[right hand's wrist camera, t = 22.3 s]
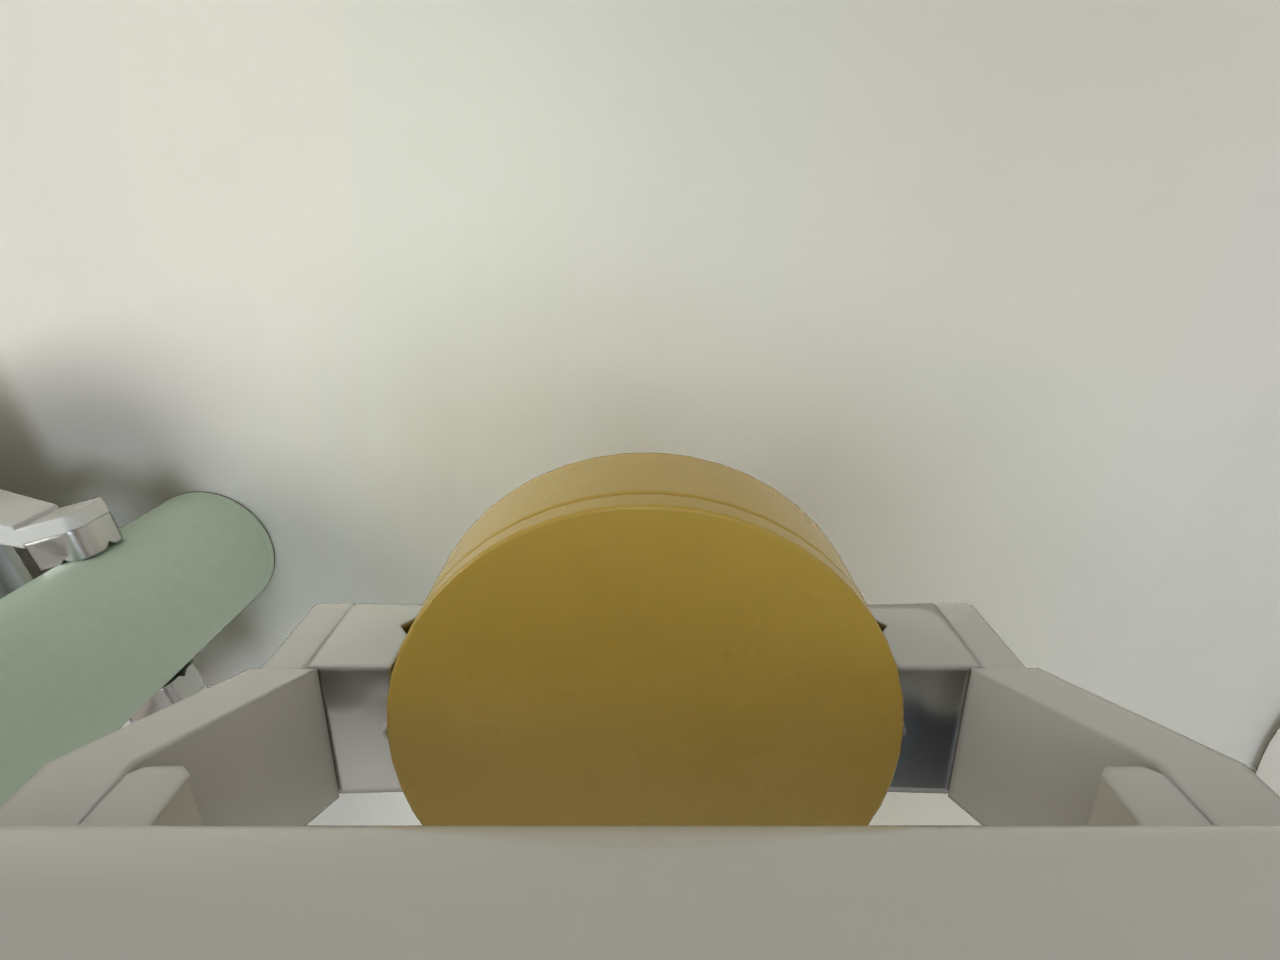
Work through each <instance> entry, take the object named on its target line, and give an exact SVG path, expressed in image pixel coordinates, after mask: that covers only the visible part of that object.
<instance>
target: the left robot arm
mask: <svg viewBox="0 0 1280 960" xmlns="http://www.w3.org/2000/svg"><path fill="white" fill-rule="evenodd" d="M123 538H124V537H123V535H122V533H121V531H120V529H119V527H118V525H117V524H116V522H115V520H114V518H113V516H112V514H111V512H110V511H109V509H108V508H107V506H106V504H105V502H104V500H103V498H102V497H98V498H94V499H90V500H87V501H83V502H79V503H76V504H72V505H68V506H64V507H61V508H59V507H58V505H57V504H53V503H50V502H46V501H42V500H39V499H35V498H31V497H28V496H24V495H20V494H17V493H13V492H9V491H6V490H2V489H0V599H1V598H3V597H5V596H6V595H8V594H10V593H11V592H13V591H15V590H16V589H18V588H20V587H22V586H23V585H25V584H27V583H28V582H30V581H32V580H33V578H32V576H31V575H30V573H29V571H28V570H27V568H26V567H25V565H24V563H23V562H22V560H21V558H20V557H19V555H18V554H17V552H16V550H15V549H14V547H18V548H23V549H27V550H28V552H29V553H30V555H31V556H32V558H33V559H34V561H35V562H36V564H37V565H38V567H39V569H40V570H41V571H43V570H47V569H51V568H55V567H57V566H59V565H62V564H63V563H65V562H67V561H69V562H76V561H81V560H84V559H87V558H90V557H92V556H94V555H96V554H98V553H100V552H102V551H104V550H105V549H107V546H108V545H110V544H114V543H117V542H118V541H120V540H122V539H123ZM207 688H208V687H207V686H206V684H205V682H204V680H203V679H202V677H201V675H200V673H199V672H198V670H197V668H196V667H195V665H194V663H193V662H192V660H190V661H189V662H188V663H187V664H186V665H185V666H184V667H183V668H182V669H181V670H180V671H179V672H178V673H177V674H176V675H175V676H174V677H173V678H172V679H170V680H169V681H168V682H167V683H166V684H165V685H164V686H163V687H162V688H161V689H160V690H159V691H158V692H157V693H156V694H155V695H154V696H153V697H152V698H151V699H150V700H149V701H148V702H147V703H146V704H145V705H144V706H143V707H141V708H140V709H139V710H138V711H137V712H136V713H135V714H134V715H133V716H132V717H131V718H130V719H129V720H128V721H127V722H126V723H125V724H124V725H123V726H122V727H121V728H123V727H126V726H128V725H130V724H132V723H134V722H136V721H138V720H141V719H143V718H145V717H147V716H149V715H151V714H153V713H156V712H158V711H160V710H162V709H164V708H166V707H168V706H171V705H173V704H175V703H177V702H179V701H181V700H183V699H185V698H188V697H190V696H192V695H194V694H196V693H198V692H200V691H203V690H205V689H207ZM121 728H120V729H121Z"/></svg>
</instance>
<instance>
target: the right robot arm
mask: <svg viewBox="0 0 1280 960" xmlns="http://www.w3.org/2000/svg"><path fill="white" fill-rule="evenodd" d="M422 606H423V605H413V604H360V603H359V604H356V603H323V604H317V605H315V606H314V607H313V608H312V609H311V610H310V611H309V612H308V614H307V615H306V616H305V617H304V618H303V620H302V621H301V622H300V623H299V624H298V626H297V627H296V628H295V629H294V630H293V632H292V633H291V634H290V635H289V636H288V638H287V639H286V640H285V641H284V642H283V644H282V645H281V646H280V647H279V648H278V650H277V651H276V652H275V653H274V654H273V656H272V657H271V658H270V659H269V660H268V662H267V663H266V664H265V665H264V666H263V668H250V669H247V670H245V671H243V672H241V673H239V674H237V675H235V676H232V677H230V678H228V679H226V680H224V681H222V682H220V683H218V684H215V685H213V686H211V687H209V688H207V689H205V690H203V691H200V692H198V693H196V694H194V695H192V696H190V697H188V698H185V699H183V700H181V701H179V702H177V703H175V704H173V705H171V706H168V707H166V708H164V709H162V710H160V711H158V712H156V713H153V714H151V715H149V716H147V717H145V718H143V719H141V720H138V721H136V722H134V723H132V724H130V725H128V726H126V727H123V728H121V729H119V730H117V731H115V732H113V733H111V734H109V735H106V736H104V737H102V738H100V739H98V740H96V741H94V742H91V743H89V744H87V745H85V746H83V747H81V748H79V749H76V750H74V751H72V752H70V753H68V754H66V755H64V756H62V757H59V758H57V759H55V760H53V761H51V762H49V763H47V764H46V765H45V766H44V767H42V768H41V769H40V770H39V771H38V772H37V773H36V774H35V775H34V776H33V777H32V778H31V779H30V780H28V781H27V782H26V783H25V784H24V785H23V786H22V787H21V788H20V789H19V790H18V791H17V792H16V793H14V794H13V795H12V796H11V797H10V798H9V799H8V800H7V801H6V802H5V803H4V804H3V805H2V806H0V960H1280V727H1279V729H1278V730H1277V732H1276V733H1275V735H1274V736H1273V738H1272V740H1271V741H1270V743H1269V745H1268V746H1267V748H1266V750H1265V752H1264V754H1263V757H1262V759H1261V761H1260V764H1259V766H1258V769H1257V771H1256V773H1254V772H1253V771H1252V770H1251V769H1249V768H1248V767H1247V766H1246V765H1245V764H1243V763H1241V762H1239V761H1237V760H1234V759H1232V758H1230V757H1228V756H1226V755H1224V754H1222V753H1219V752H1217V751H1215V750H1213V749H1211V748H1209V747H1207V746H1204V745H1202V744H1200V743H1198V742H1196V741H1194V740H1191V739H1189V738H1187V737H1185V736H1183V735H1181V734H1179V733H1176V732H1174V731H1172V730H1170V729H1168V728H1166V727H1163V726H1161V725H1159V724H1157V723H1155V722H1153V721H1151V720H1148V719H1146V718H1144V717H1142V716H1140V715H1138V714H1136V713H1133V712H1131V711H1129V710H1127V709H1125V708H1123V707H1120V706H1118V705H1116V704H1114V703H1112V702H1110V701H1108V700H1105V699H1103V698H1101V697H1099V696H1097V695H1095V694H1092V693H1090V692H1088V691H1086V690H1084V689H1082V688H1080V687H1077V686H1075V685H1073V684H1071V683H1069V682H1067V681H1065V680H1062V679H1060V678H1058V677H1056V676H1054V675H1052V674H1049V673H1047V672H1045V671H1043V670H1041V669H1039V668H1026V667H1025V666H1024V665H1023V664H1022V663H1021V662H1020V660H1019V659H1018V658H1017V657H1016V656H1015V655H1014V653H1013V652H1012V651H1011V650H1010V649H1009V647H1008V646H1007V645H1006V644H1005V643H1004V642H1003V640H1002V639H1001V638H1000V637H999V636H998V635H997V633H996V632H995V631H994V630H993V629H992V628H991V626H990V625H989V624H988V623H987V622H986V621H985V619H984V618H983V617H982V616H981V615H980V614H979V612H978V611H977V610H976V609H975V608H974V607H973V606H972V605H970V604H967V603H943V604H933V603H932V604H891V605H868V607H869V609H870V611H871V612H872V614H873V616H874V618H875V619H876V621H877V623H878V625H879V627H880V628H881V630H882V632H883V634H884V636H885V637H886V639H887V641H888V644H889V646H890V649H891V652H892V655H893V657H894V660H895V663H896V666H897V668H898V673H899V678H900V684H901V689H902V694H903V713H904V728H903V735H902V743H901V750H900V756H899V759H898V763H897V766H896V769H895V773H894V776H893V780H892V782H891V784H890V786H889V789H888V791H887V792H915V793H949V794H948V797H949V798H951V799H952V800H953V801H954V802H955V803H957V804H958V805H959V806H960V807H961V808H962V809H964V810H965V811H966V812H967V813H968V814H969V815H971V816H972V817H973V818H974V819H975V820H977V821H978V822H979V823H980V824H981V825H982V826H306V825H307V824H308V823H309V822H311V821H312V820H313V819H314V818H315V817H316V816H318V815H319V814H320V813H321V812H322V811H323V810H325V809H326V808H327V807H328V806H329V805H330V804H332V803H333V802H334V801H335V800H336V799H337V798H339V793H371V792H403V791H402V789H401V787H400V784H399V781H398V778H397V775H396V772H395V769H394V766H393V763H392V759H391V753H390V747H389V741H388V735H387V699H388V693H389V686H390V680H391V674H392V671H393V668H394V665H395V662H396V659H397V656H398V653H399V650H400V647H401V645H402V643H403V641H404V639H405V637H406V635H407V633H408V632H409V630H410V628H411V626H412V624H413V622H414V620H415V618H416V616H417V614H418V613H419V611H420V609H421V607H422Z"/></svg>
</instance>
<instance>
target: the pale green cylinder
mask: <svg viewBox="0 0 1280 960" xmlns="http://www.w3.org/2000/svg"><path fill="white" fill-rule="evenodd" d="M120 531H121V533H122V535H123V537H124V538H123V539H122V540H120V541H118V542H117V543H114V544H110V545H108V546H107V549H105V550H104V551H102V552H100V553H98V554H96V555H94V556H92V557H90V558H87V559H84V560H81V561H76V562H69V561H67V562H65V563H63V564H62V565H59V566H57V567H55V568H52V569H50V570H49V571H47V572H45V573H44V574H42V575H40V576H39V577H37V578H35V579H33V580H32V581H30V582H28V583H27V584H25V585H23V586H22V587H20V588H18V589H16V590H15V591H13V592H11V593H10V594H8V595H6V596H5V597H3V598H1V599H0V806H2V805H3V804H4V803H5V802H6V801H7V800H8V799H9V798H10V797H11V796H12V795H13V794H14V793H16V792H17V791H18V790H19V789H20V788H21V787H22V786H23V785H24V784H25V783H26V782H27V781H28V780H30V779H31V778H32V777H33V776H34V775H35V774H36V773H37V772H38V771H39V770H40V769H41V768H42V767H44V766H45V765H46V764H47V763H49V762H51V761H53V760H55V759H57V758H59V757H62V756H64V755H66V754H68V753H70V752H72V751H74V750H76V749H79V748H81V747H83V746H85V745H87V744H89V743H91V742H94V741H96V740H98V739H100V738H102V737H104V736H106V735H109V734H111V733H113V732H115V731H117V730H119V729H120V728H121V727H122V726H123V725H124V724H125V723H126V722H127V721H128V720H129V719H130V718H131V717H132V716H133V715H134V714H135V713H136V712H137V711H138V710H139V709H140V708H141V707H143V706H144V705H145V704H146V703H147V702H148V701H149V700H150V699H151V698H152V697H153V696H154V695H155V694H156V693H157V692H158V691H159V690H160V689H161V688H162V687H163V686H164V685H165V684H166V683H167V682H168V681H169V680H170V679H172V678H173V677H174V676H175V675H176V674H177V673H178V672H179V671H180V670H181V669H182V668H183V667H184V666H185V665H186V664H187V663H188V662H189V661H190V660H191V659H192V658H193V657H194V656H195V655H196V654H197V653H198V652H200V651H201V650H202V649H203V648H204V647H205V646H206V645H207V644H208V643H209V642H210V641H211V640H212V639H213V638H214V637H215V636H216V635H217V634H218V633H219V632H220V631H221V630H222V629H223V628H224V627H225V626H226V625H228V624H229V623H230V622H231V621H232V620H233V619H234V618H235V617H236V616H237V615H238V614H239V613H240V612H241V611H242V610H243V609H244V608H245V607H246V606H247V605H248V604H249V603H250V602H251V601H252V600H253V599H254V598H255V597H257V596H258V595H259V594H260V593H261V592H262V591H263V589H264V588H265V587H266V586H267V584H268V582H269V581H270V578H271V576H272V573H273V568H274V552H273V547H272V544H271V541H270V538H269V536H268V534H267V532H266V530H265V529H264V527H263V526H262V525H261V523H260V522H259V521H258V520H257V518H256V517H255V516H254V515H253V514H251V513H250V512H249V511H248V510H247V509H245V508H244V507H243V506H241V505H240V504H238V503H236V502H235V501H233V500H230V499H228V498H226V497H223V496H220V495H217V494H212V493H204V492H191V493H185V494H181V495H178V496H175V497H173V498H171V499H169V500H167V501H166V502H164V503H162V504H161V505H159V506H157V507H156V508H154V509H152V510H150V511H149V512H147V513H145V514H144V515H142V516H140V517H139V518H137V519H135V520H133V521H132V522H130V523H128V524H127V525H125V526H123V527H122V528H120Z"/></svg>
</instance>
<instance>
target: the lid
mask: <svg viewBox="0 0 1280 960" xmlns="http://www.w3.org/2000/svg"><path fill="white" fill-rule="evenodd" d="M903 728H904V713H903V694H902V689H901V684H900V678H899V673H898V668H897V666H896V663H895V660H894V657H893V655H892V652H891V649H890V646H889V644H888V641H887V639H886V637H885V636H884V634H883V632H882V630H881V628H880V627H879V625H878V623H877V621H876V619H875V618H874V616H873V614H872V612H871V611H870V609H869V607H868V605H867V604H866V602H865V600H864V598H863V596H862V595H861V593H860V591H859V589H858V588H857V586H856V584H855V582H854V581H853V579H852V577H851V575H850V574H849V572H848V570H847V568H846V567H845V565H844V563H843V561H842V560H841V558H840V556H839V554H838V553H837V551H836V549H835V547H834V546H833V545H832V543H831V542H830V541H829V540H828V538H827V537H826V536H825V534H824V533H823V532H822V531H821V529H820V528H819V527H818V525H817V524H816V523H815V522H813V521H812V520H811V519H810V518H809V517H808V516H807V515H806V514H805V513H804V512H803V511H802V510H801V509H800V508H799V507H798V506H797V505H795V504H794V503H793V502H791V501H790V500H789V499H787V498H786V497H784V496H783V495H782V494H780V493H779V492H778V491H776V490H775V489H773V488H772V487H770V486H768V485H766V484H764V483H762V482H760V481H759V480H757V479H755V478H753V477H751V476H749V475H747V474H745V473H742V472H740V471H737V470H734V469H732V468H729V467H727V466H724V465H721V464H719V463H714V462H710V461H706V460H702V459H698V458H694V457H690V456H682V455H673V454H664V453H623V454H616V455H609V456H602V457H595V458H591V459H587V460H583V461H580V462H576V463H572V464H569V465H565V466H562V467H560V468H557V469H555V470H553V471H550V472H548V473H545V474H543V475H541V476H538V477H536V478H534V479H532V480H531V481H529V482H527V483H525V484H524V485H522V486H520V487H518V488H517V489H515V490H513V491H512V492H510V493H509V494H507V495H506V496H505V497H503V498H502V499H501V500H500V501H498V502H497V503H496V504H494V505H493V506H492V507H491V508H489V509H488V510H487V511H486V512H485V513H484V514H483V515H482V516H481V517H480V518H479V519H478V520H477V521H476V522H475V523H474V524H473V525H472V526H471V527H470V528H469V529H468V530H467V532H466V533H465V535H464V536H463V537H462V539H461V540H460V541H459V543H458V544H457V546H456V547H455V548H454V550H453V551H452V553H451V554H450V556H449V558H448V560H447V562H446V564H445V565H444V567H443V569H442V571H441V573H440V574H439V576H438V578H437V580H436V582H435V584H434V585H433V587H432V589H431V591H430V593H429V594H428V596H427V598H426V600H425V602H424V604H423V606H422V607H421V609H420V611H419V613H418V614H417V616H416V618H415V620H414V622H413V624H412V626H411V628H410V630H409V632H408V633H407V635H406V637H405V639H404V641H403V643H402V645H401V647H400V650H399V653H398V656H397V659H396V662H395V665H394V668H393V671H392V674H391V680H390V686H389V693H388V699H387V735H388V741H389V747H390V753H391V759H392V763H393V766H394V769H395V772H396V775H397V778H398V781H399V784H400V787H401V789H402V791H403V793H404V795H405V797H406V799H407V801H408V803H409V805H410V807H411V809H412V811H413V812H414V814H415V815H416V817H417V818H418V819H419V821H420V822H421V824H422V825H423V826H868V824H869V823H870V821H871V820H872V818H873V817H874V815H875V813H876V812H877V810H878V809H879V807H880V806H881V804H882V801H883V799H884V797H885V795H886V793H887V791H888V789H889V786H890V784H891V782H892V780H893V776H894V773H895V769H896V766H897V763H898V759H899V756H900V750H901V743H902V735H903Z"/></svg>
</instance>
